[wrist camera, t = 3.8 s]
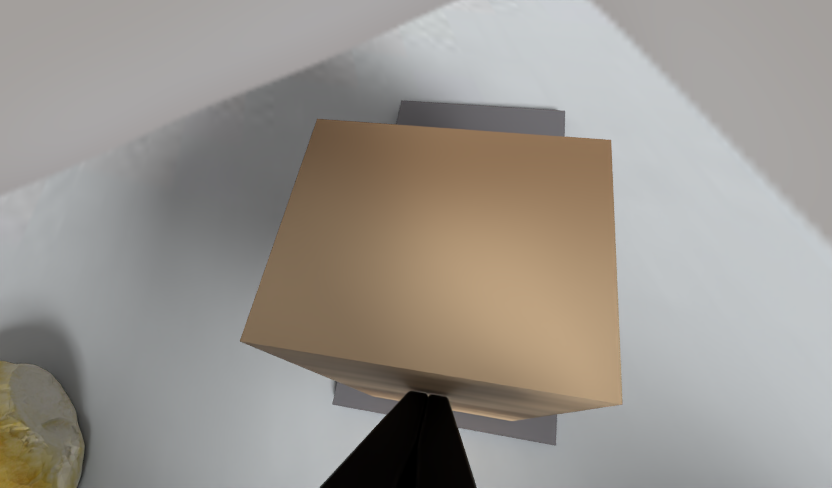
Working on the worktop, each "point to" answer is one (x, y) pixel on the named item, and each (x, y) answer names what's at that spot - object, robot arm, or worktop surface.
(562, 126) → the mat
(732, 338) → the worktop surface
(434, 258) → the oak block
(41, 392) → the bread roll
